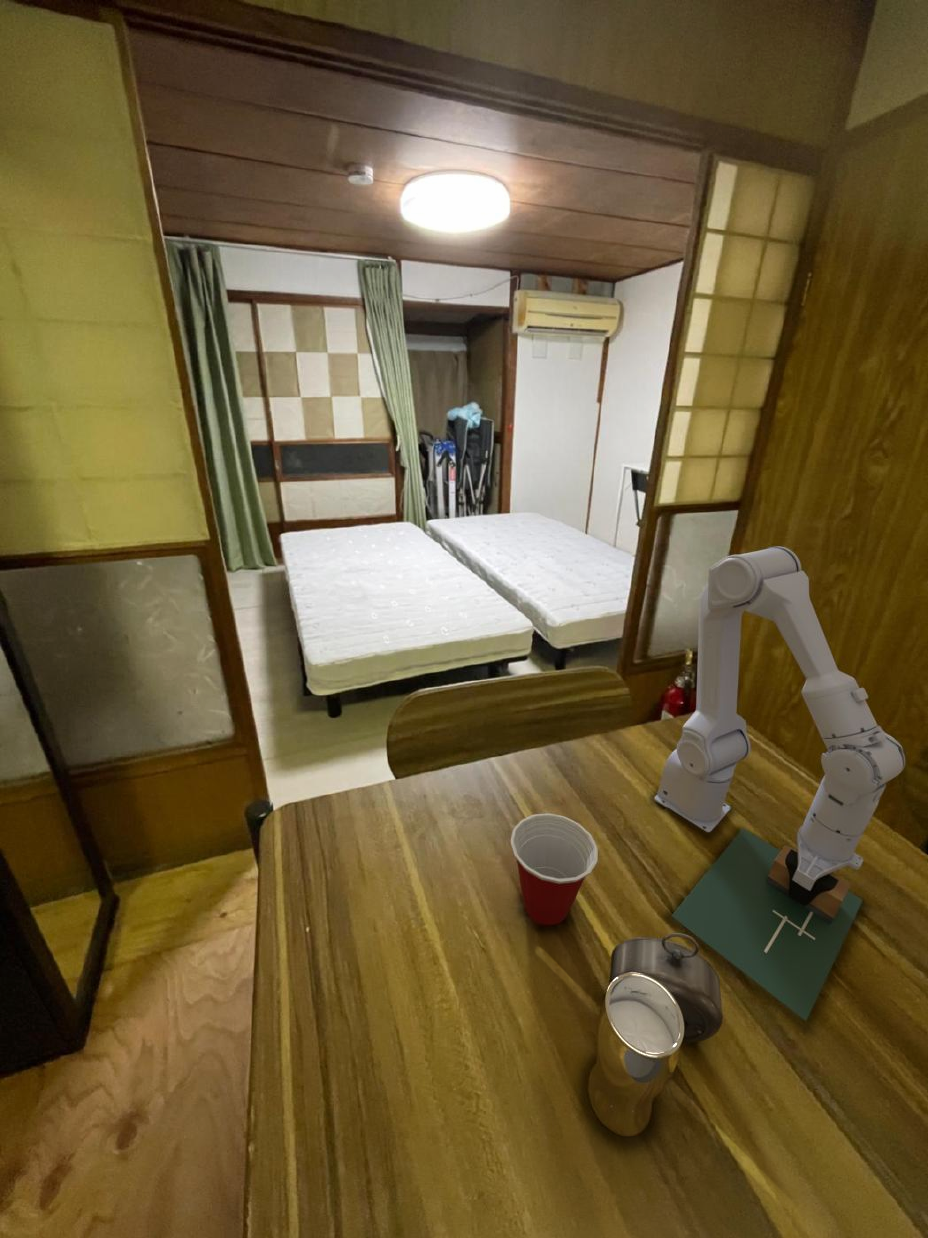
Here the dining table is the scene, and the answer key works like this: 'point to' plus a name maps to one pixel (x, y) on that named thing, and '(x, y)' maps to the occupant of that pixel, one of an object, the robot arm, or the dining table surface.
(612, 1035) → the beer glass
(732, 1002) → the dining table surface
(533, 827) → the plastic cup
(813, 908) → the eraser
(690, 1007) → the alarm clock
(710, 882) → the chalkboard
